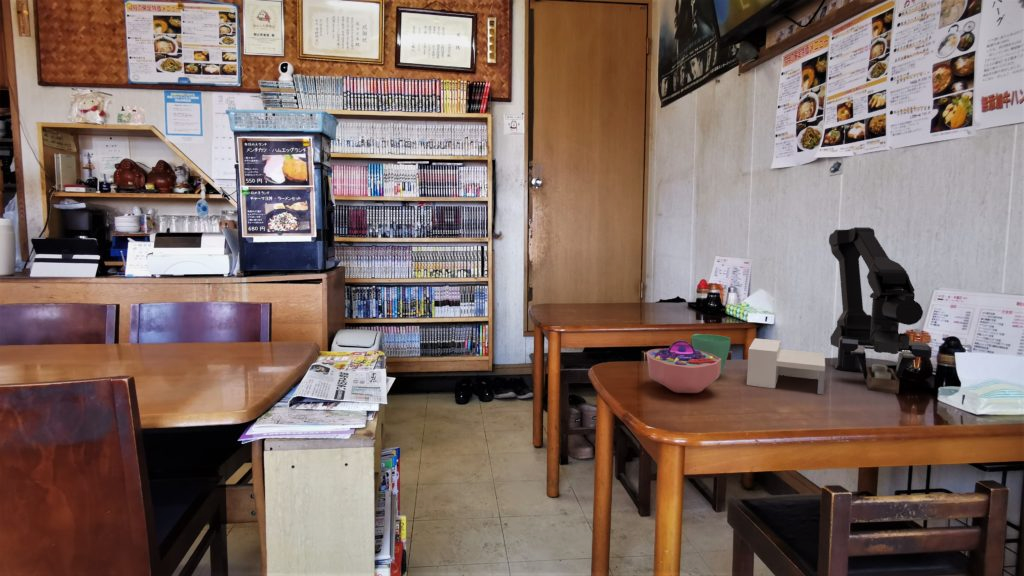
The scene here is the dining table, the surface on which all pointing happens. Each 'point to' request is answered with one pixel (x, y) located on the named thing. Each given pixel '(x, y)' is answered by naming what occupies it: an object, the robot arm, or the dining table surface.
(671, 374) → the cell model
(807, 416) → the dining table surface
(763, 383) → the counter
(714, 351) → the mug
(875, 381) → the tray
